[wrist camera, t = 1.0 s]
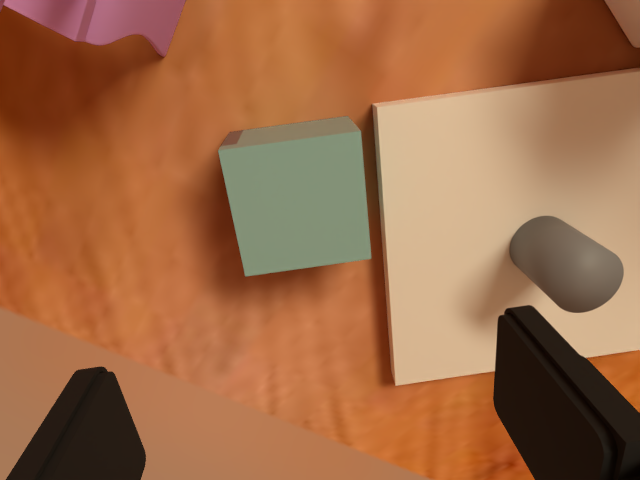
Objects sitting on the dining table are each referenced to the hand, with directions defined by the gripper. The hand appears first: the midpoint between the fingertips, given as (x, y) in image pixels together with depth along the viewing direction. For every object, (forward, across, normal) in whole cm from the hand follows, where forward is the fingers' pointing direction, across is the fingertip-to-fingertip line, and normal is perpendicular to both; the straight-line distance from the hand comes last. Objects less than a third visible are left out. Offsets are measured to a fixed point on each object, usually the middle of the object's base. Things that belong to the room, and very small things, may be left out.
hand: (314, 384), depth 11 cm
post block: (+18, -15, +6) cm, 24 cm away
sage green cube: (+18, 0, 0) cm, 18 cm away
